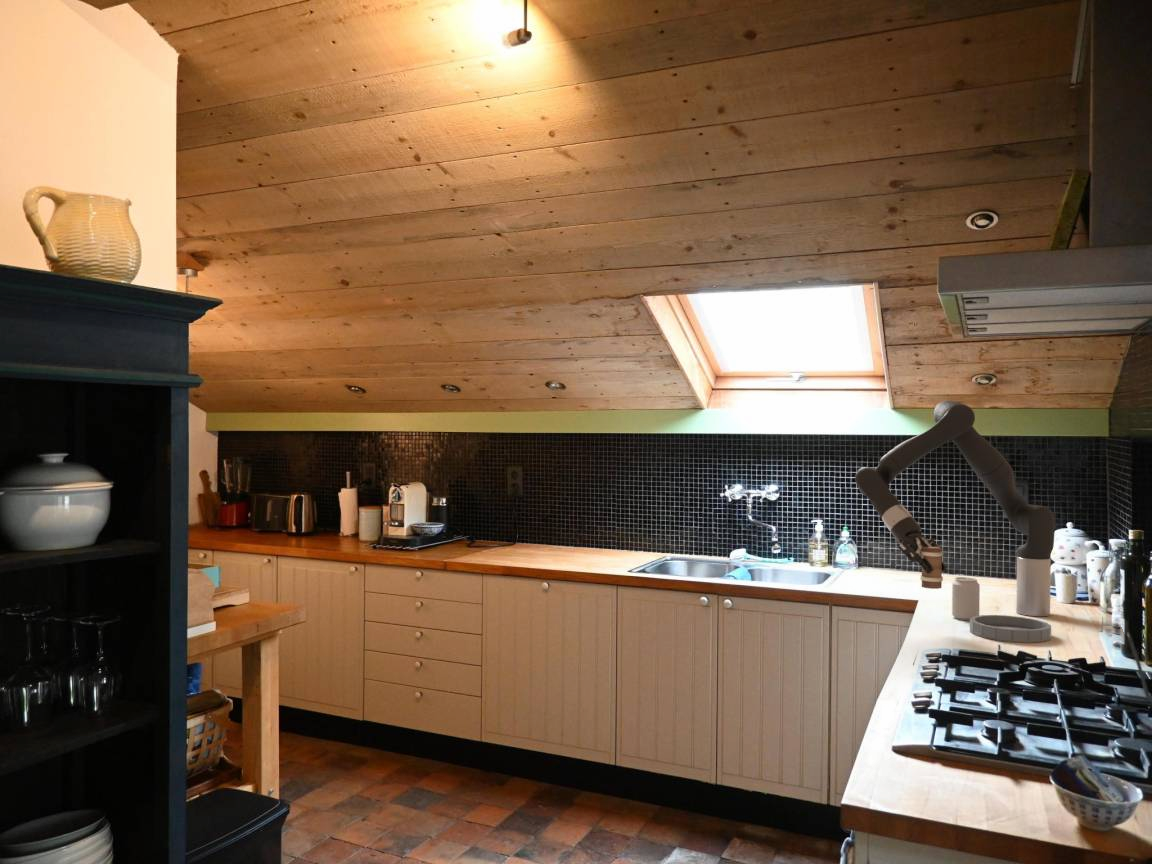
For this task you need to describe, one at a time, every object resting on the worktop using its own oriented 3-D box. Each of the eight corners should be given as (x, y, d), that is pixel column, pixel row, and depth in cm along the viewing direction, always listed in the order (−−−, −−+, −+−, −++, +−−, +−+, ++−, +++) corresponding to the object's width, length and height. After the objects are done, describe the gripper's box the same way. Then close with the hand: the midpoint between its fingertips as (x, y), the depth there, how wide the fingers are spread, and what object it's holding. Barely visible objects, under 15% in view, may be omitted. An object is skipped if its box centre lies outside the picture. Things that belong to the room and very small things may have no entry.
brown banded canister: (918, 584, 257) (918, 546, 257) (940, 585, 256) (940, 546, 256) (922, 588, 251) (922, 549, 251) (944, 589, 250) (944, 549, 250)
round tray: (962, 624, 259) (962, 613, 259) (1037, 628, 256) (1037, 616, 256) (979, 640, 240) (979, 628, 240) (1061, 644, 236) (1061, 632, 236)
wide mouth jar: (946, 617, 271) (946, 577, 271) (965, 615, 274) (965, 575, 274) (966, 622, 264) (966, 580, 264) (985, 620, 267) (985, 579, 267)
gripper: (892, 517, 256) (929, 564, 246) (924, 514, 264) (961, 560, 254) (877, 533, 260) (912, 581, 250) (909, 530, 268) (945, 576, 258)
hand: (937, 570), depth 252 cm, fingers closed on brown banded canister, 5 cm apart
